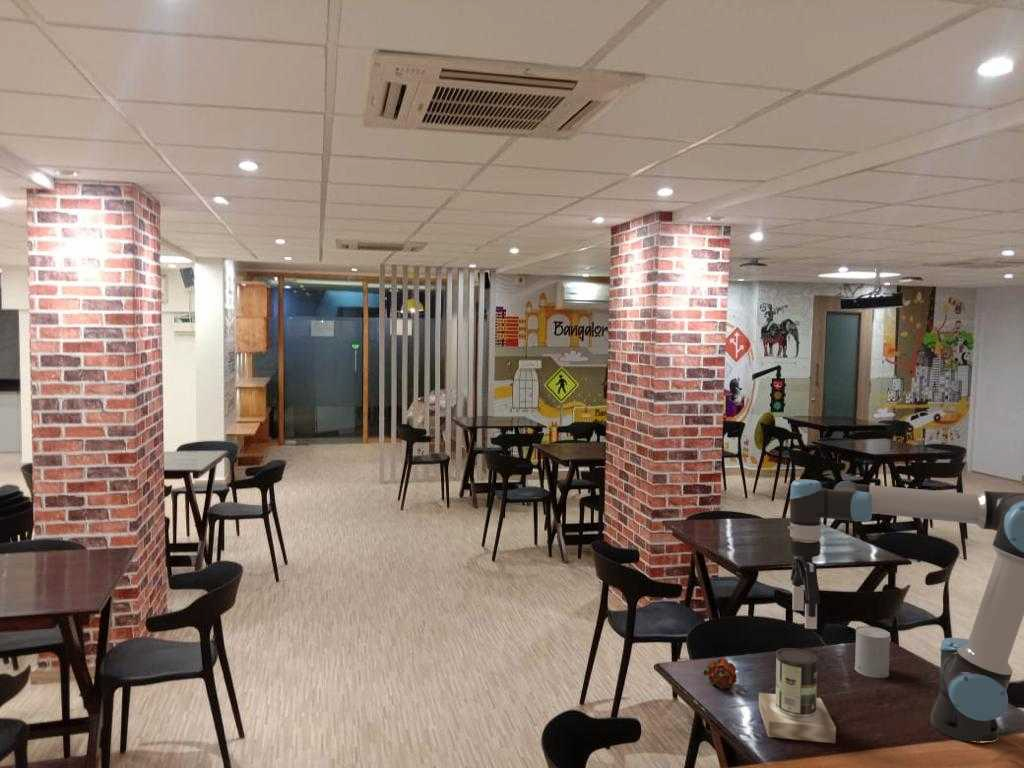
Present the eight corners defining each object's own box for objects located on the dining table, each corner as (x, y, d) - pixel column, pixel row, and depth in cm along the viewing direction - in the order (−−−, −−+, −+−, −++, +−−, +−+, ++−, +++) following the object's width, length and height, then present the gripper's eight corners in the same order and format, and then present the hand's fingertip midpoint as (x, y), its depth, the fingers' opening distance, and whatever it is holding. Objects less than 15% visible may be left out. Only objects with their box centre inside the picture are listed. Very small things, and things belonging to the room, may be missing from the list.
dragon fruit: (726, 701, 209) (711, 688, 221) (749, 682, 210) (733, 670, 222) (708, 676, 209) (694, 665, 221) (731, 657, 210) (716, 647, 222)
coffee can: (812, 701, 197) (813, 649, 196) (820, 719, 187) (821, 665, 186) (771, 697, 199) (773, 645, 198) (777, 715, 189) (778, 661, 188)
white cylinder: (850, 663, 231) (851, 625, 231) (882, 665, 230) (883, 627, 230) (860, 676, 222) (861, 636, 221) (894, 679, 221) (895, 638, 220)
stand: (820, 712, 199) (820, 697, 199) (835, 743, 184) (835, 726, 183) (758, 707, 202) (759, 692, 202) (768, 736, 186) (768, 720, 186)
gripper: (780, 527, 206) (779, 602, 207) (801, 550, 181) (800, 635, 182) (808, 528, 205) (807, 603, 206) (833, 551, 180) (832, 637, 181)
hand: (804, 618), depth 194 cm, fingers open, 13 cm apart
